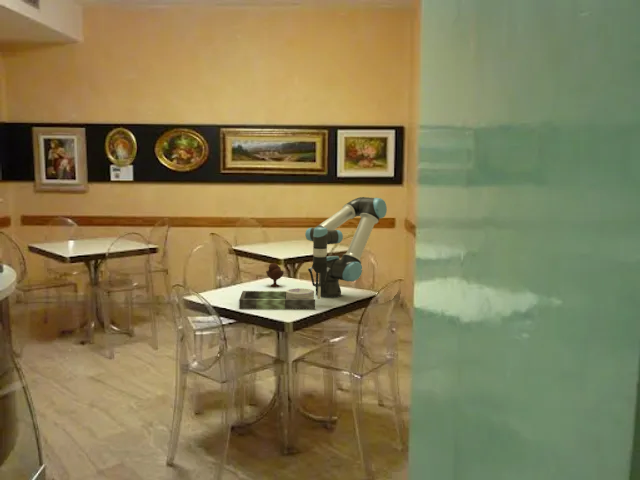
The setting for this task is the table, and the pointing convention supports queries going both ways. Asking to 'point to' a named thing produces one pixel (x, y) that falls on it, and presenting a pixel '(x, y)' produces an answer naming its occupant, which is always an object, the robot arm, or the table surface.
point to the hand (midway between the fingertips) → (318, 298)
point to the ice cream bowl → (274, 273)
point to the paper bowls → (299, 294)
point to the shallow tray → (272, 301)
